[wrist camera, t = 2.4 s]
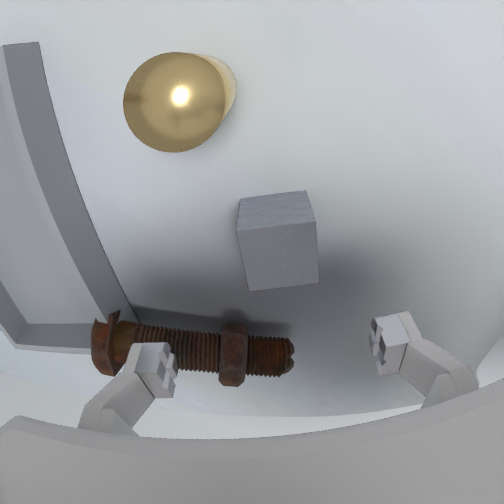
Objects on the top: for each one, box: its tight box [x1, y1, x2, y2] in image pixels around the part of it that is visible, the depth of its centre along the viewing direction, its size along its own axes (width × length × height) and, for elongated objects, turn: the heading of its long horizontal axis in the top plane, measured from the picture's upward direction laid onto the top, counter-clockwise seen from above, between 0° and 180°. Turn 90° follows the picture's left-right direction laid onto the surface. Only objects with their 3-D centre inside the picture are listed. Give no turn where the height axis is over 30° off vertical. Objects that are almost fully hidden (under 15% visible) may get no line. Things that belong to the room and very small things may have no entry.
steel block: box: [236, 190, 319, 291], centre depth 19 cm, size 4×4×4 cm
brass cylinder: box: [123, 52, 237, 152], centre depth 13 cm, size 4×4×6 cm
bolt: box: [91, 310, 294, 387], centre depth 23 cm, size 6×5×15 cm
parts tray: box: [0, 42, 139, 354], centre depth 19 cm, size 15×24×4 cm, turn 9°
